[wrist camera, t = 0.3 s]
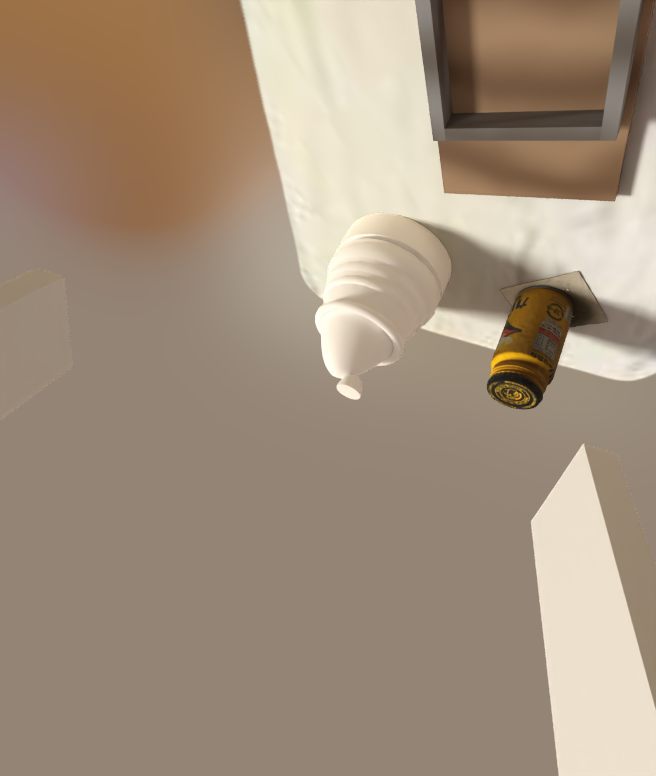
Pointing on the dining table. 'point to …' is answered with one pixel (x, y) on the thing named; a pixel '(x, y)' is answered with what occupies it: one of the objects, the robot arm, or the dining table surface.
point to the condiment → (538, 336)
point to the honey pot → (378, 295)
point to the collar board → (533, 93)
